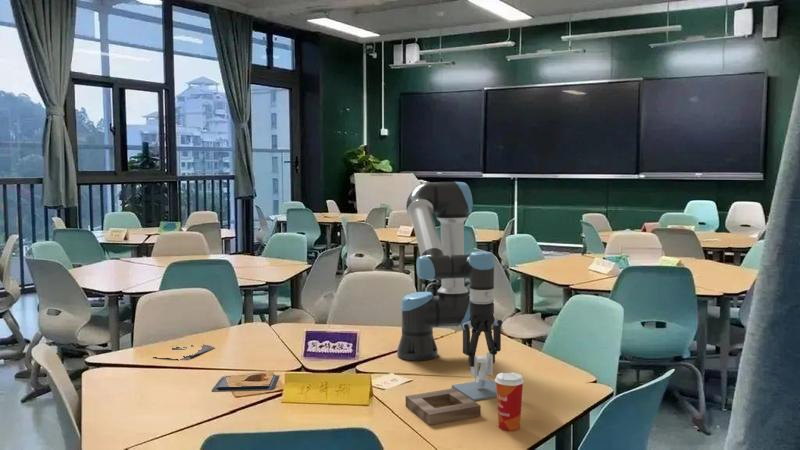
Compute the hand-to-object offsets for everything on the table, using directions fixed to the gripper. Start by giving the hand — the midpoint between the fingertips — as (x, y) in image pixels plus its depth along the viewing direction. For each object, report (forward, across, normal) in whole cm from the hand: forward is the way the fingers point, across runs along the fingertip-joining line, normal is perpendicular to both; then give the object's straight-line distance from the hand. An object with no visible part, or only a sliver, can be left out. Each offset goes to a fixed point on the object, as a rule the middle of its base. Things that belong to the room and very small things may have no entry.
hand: (481, 374), depth 200 cm
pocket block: (+5, -19, -10) cm, 22 cm away
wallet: (+6, -66, +39) cm, 77 cm away
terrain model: (+6, -81, +86) cm, 119 cm away
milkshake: (+3, 0, 0) cm, 3 cm away
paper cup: (+5, -8, -28) cm, 30 cm away
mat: (+5, 0, 0) cm, 5 cm away
